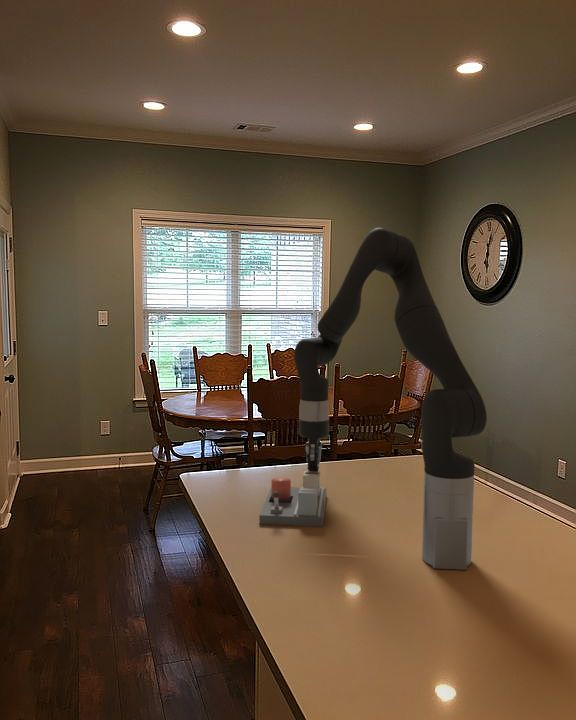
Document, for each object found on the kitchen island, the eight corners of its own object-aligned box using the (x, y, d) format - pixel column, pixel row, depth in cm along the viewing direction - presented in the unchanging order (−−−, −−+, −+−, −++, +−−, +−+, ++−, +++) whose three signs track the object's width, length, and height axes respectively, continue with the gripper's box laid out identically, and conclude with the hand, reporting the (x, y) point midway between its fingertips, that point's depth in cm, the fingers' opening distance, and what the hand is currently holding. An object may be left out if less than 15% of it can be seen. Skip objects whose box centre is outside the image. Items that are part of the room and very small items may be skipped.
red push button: (289, 500, 151) (289, 482, 151) (270, 499, 152) (270, 482, 151) (291, 494, 156) (291, 477, 155) (272, 493, 156) (272, 476, 156)
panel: (322, 526, 141) (322, 495, 140) (259, 524, 142) (259, 492, 142) (326, 496, 163) (326, 468, 162) (271, 494, 164) (271, 466, 164)
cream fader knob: (319, 496, 156) (319, 475, 156) (302, 495, 157) (303, 474, 156) (320, 491, 160) (320, 470, 160) (303, 490, 160) (304, 470, 160)
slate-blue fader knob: (316, 515, 142) (316, 492, 142) (298, 515, 142) (298, 492, 142) (317, 509, 146) (317, 487, 146) (299, 509, 146) (299, 486, 146)
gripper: (328, 422, 155) (327, 493, 156) (329, 413, 168) (329, 478, 169) (296, 421, 155) (296, 492, 157) (301, 412, 168) (300, 477, 170)
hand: (313, 484), depth 163 cm, fingers closed
